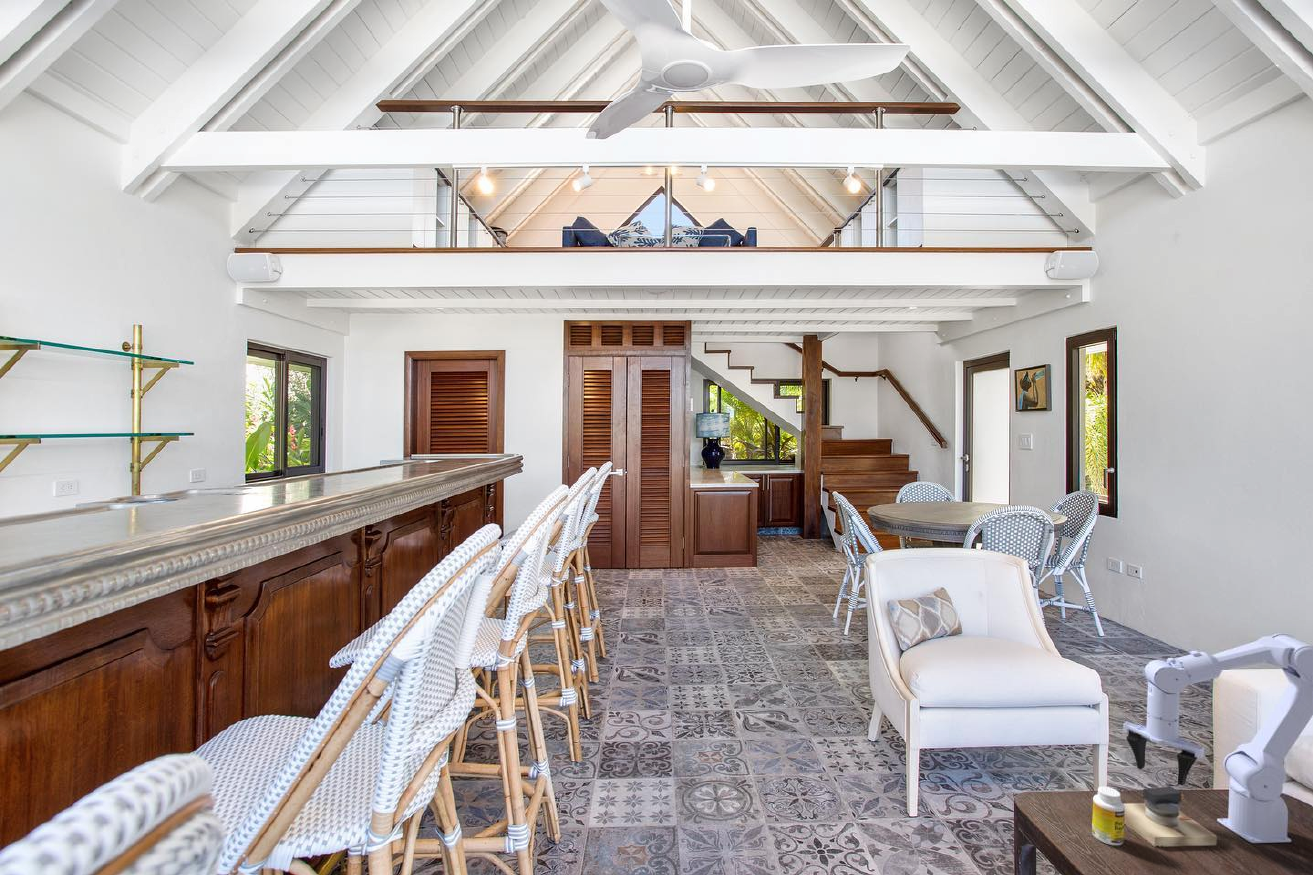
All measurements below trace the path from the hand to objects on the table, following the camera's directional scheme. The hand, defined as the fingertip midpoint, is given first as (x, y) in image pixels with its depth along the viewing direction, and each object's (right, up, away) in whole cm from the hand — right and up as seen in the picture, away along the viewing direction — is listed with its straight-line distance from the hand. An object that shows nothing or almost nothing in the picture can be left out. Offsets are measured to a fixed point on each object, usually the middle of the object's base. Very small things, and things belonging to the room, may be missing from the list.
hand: (1160, 775), depth 145 cm
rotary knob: (-2, -5, -4) cm, 7 cm away
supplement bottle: (-18, -10, -8) cm, 22 cm away
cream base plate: (-3, -10, -4) cm, 11 cm away
